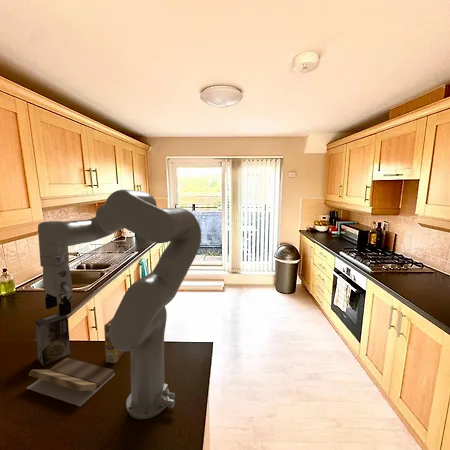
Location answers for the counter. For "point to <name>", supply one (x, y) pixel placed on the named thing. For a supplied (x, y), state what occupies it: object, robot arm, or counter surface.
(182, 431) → the counter surface
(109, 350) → the candy box
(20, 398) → the counter surface
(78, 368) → the walnut plank
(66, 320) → the coffee box
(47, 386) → the underlay mat
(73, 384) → the oak plank
